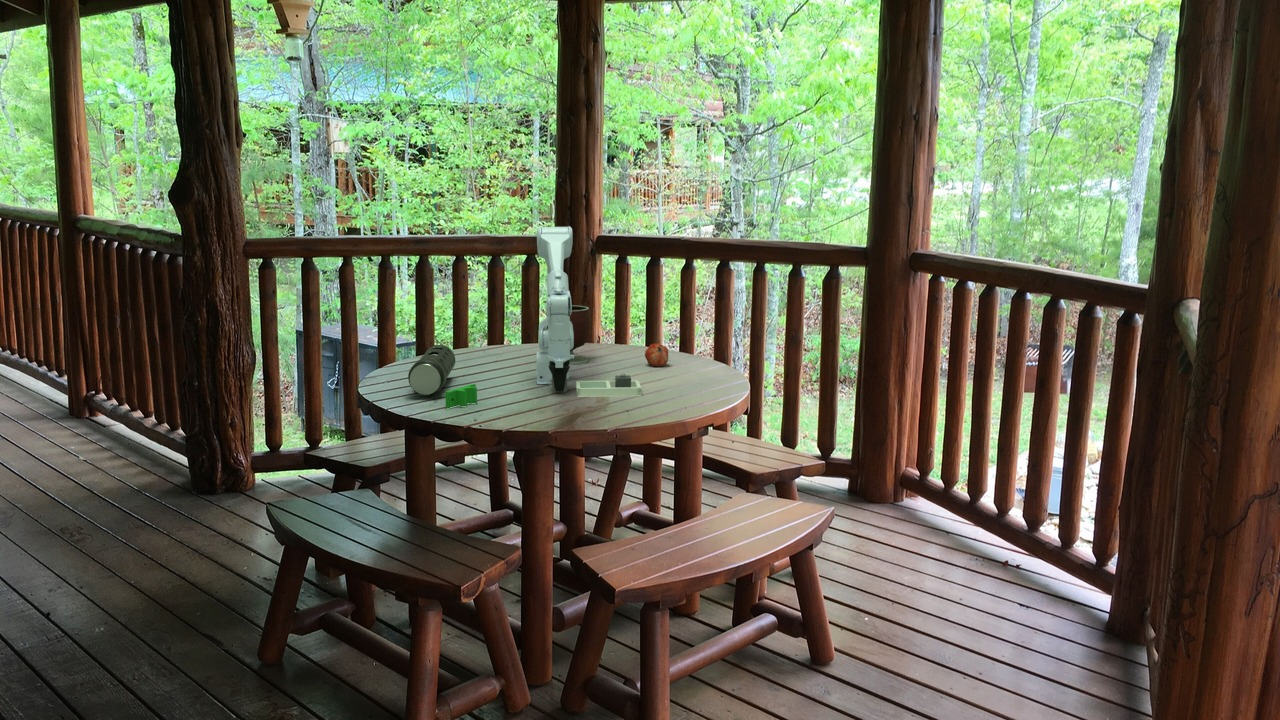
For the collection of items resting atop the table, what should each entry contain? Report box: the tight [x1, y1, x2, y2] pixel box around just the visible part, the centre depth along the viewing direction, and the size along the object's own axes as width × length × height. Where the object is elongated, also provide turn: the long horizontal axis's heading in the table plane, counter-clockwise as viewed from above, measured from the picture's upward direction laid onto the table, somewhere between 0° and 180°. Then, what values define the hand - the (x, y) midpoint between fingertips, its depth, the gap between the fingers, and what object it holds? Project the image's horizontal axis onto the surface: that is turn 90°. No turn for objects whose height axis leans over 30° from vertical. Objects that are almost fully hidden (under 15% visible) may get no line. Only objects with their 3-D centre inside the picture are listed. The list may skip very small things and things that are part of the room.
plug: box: [614, 373, 632, 388], centre depth 260 cm, size 4×4×5 cm
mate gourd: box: [543, 300, 591, 366], centre depth 307 cm, size 16×14×20 cm
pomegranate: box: [644, 342, 669, 367], centre depth 303 cm, size 7×7×10 cm
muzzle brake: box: [407, 344, 456, 396], centre depth 268 cm, size 10×28×10 cm, turn 4°
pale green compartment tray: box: [575, 379, 642, 398], centre depth 260 cm, size 17×11×3 cm, turn 94°
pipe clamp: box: [444, 383, 478, 409], centre depth 249 cm, size 11×4×5 cm, turn 153°
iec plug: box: [551, 376, 568, 394], centre depth 261 cm, size 4×4×7 cm
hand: (559, 389), depth 261 cm, fingers closed on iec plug, 4 cm apart
